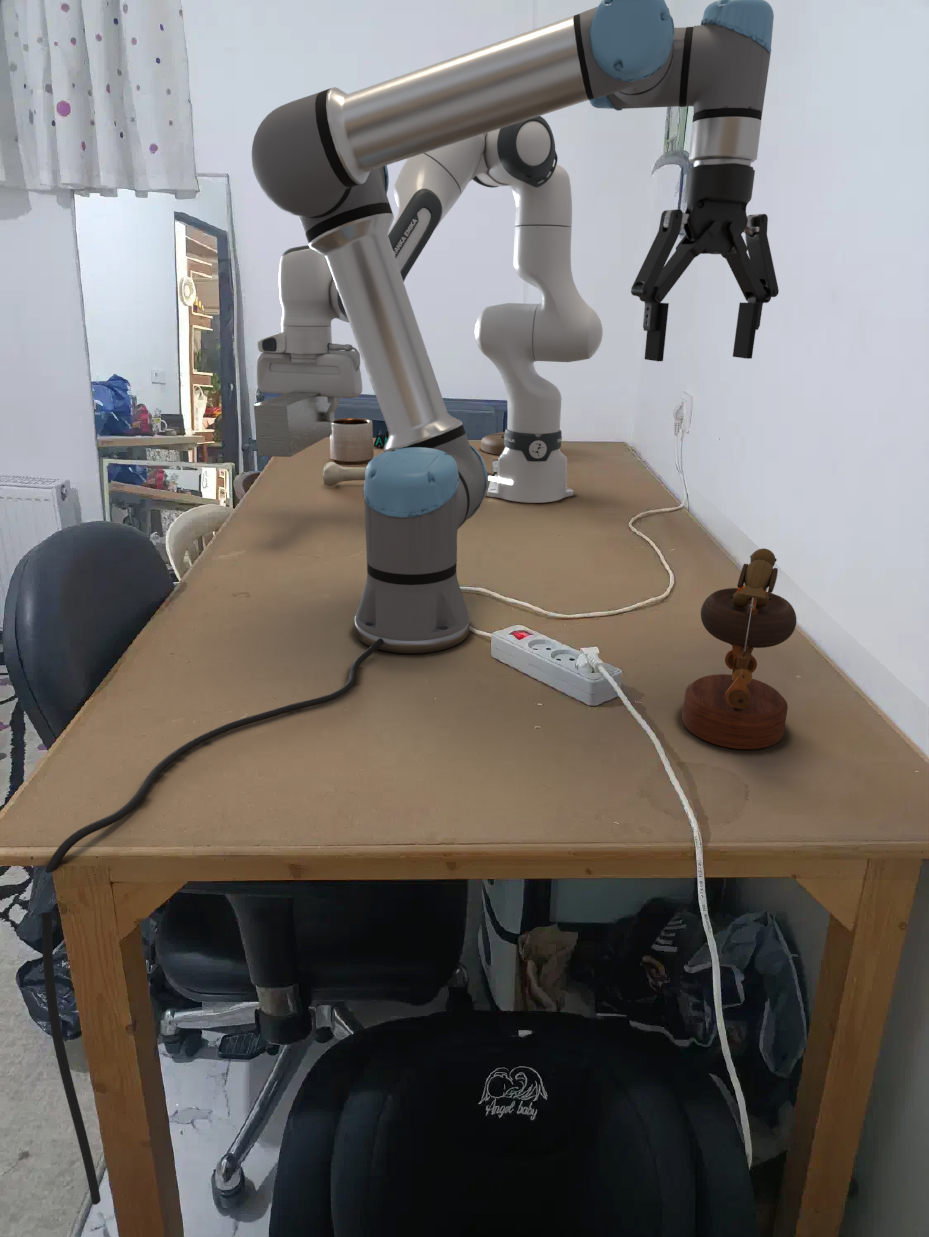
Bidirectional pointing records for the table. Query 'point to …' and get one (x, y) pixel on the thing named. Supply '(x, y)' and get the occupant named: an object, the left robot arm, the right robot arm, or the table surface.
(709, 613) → the music box
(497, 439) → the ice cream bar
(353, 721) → the table surface
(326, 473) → the dog toy
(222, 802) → the table surface
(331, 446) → the planter
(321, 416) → the bar
